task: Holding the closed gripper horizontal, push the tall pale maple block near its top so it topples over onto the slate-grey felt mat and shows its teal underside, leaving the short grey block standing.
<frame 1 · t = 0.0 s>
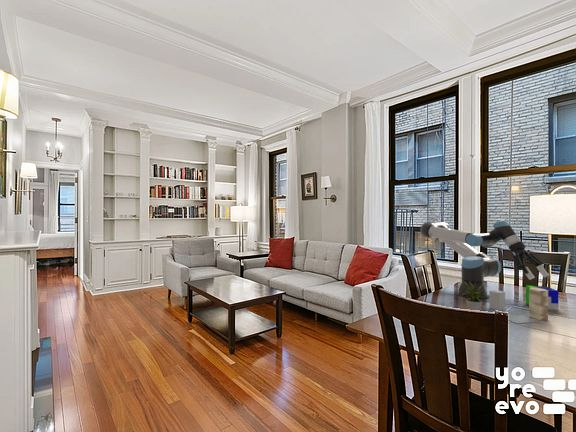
hand: (539, 277, 166), 15 cm above the table, tool tilted 35°, fingers open, 13 cm apart
maple block: (538, 318, 147), on the table
puzzle toy: (541, 306, 165), on the table
grey block: (497, 308, 162), on the table
felt mat: (519, 319, 145), on the table
house plant: (471, 312, 157), on the table
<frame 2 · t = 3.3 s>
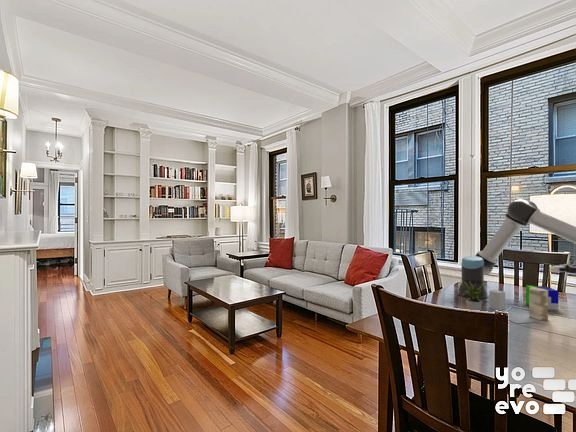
hand: (552, 269, 148), 23 cm above the table, tool horizontal, fingers closed
nothing on the table moved.
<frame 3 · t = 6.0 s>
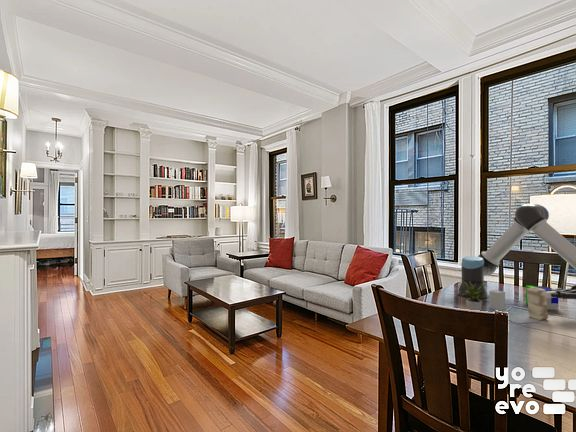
hand: (543, 294, 146), 11 cm above the table, tool horizontal, fingers closed
maple block: (538, 317, 147), on the table, tilted 6°, touching gripper
everything else where it was.
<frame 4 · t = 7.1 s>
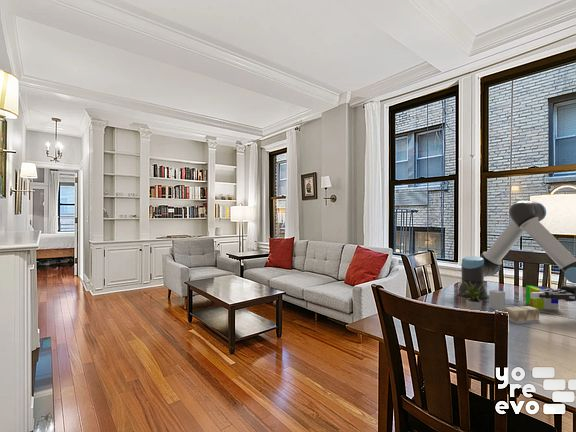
hand: (531, 295, 145), 11 cm above the table, tool horizontal, fingers closed
maple block: (534, 312, 146), point 3 cm above the table, tilted 90°, touching felt mat
everything else where it was.
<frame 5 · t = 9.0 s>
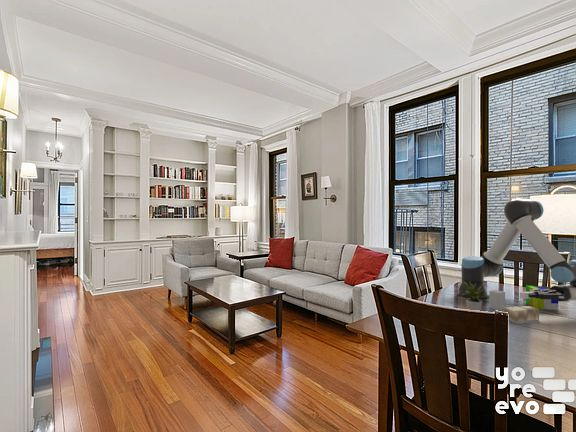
hand: (521, 295, 145), 11 cm above the table, tool horizontal, fingers closed
nothing on the table moved.
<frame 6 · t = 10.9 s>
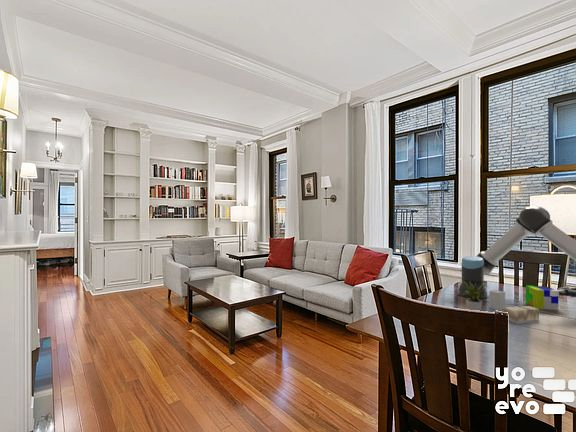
hand: (551, 293, 148), 12 cm above the table, tool horizontal, fingers closed
nothing on the table moved.
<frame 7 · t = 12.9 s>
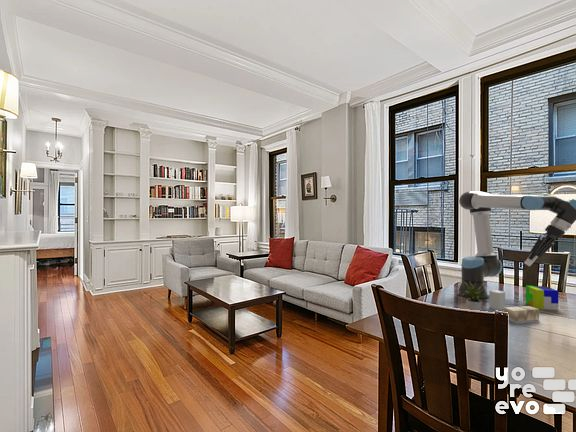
hand: (526, 264, 163), 23 cm above the table, tool tilted 30°, fingers closed
nothing on the table moved.
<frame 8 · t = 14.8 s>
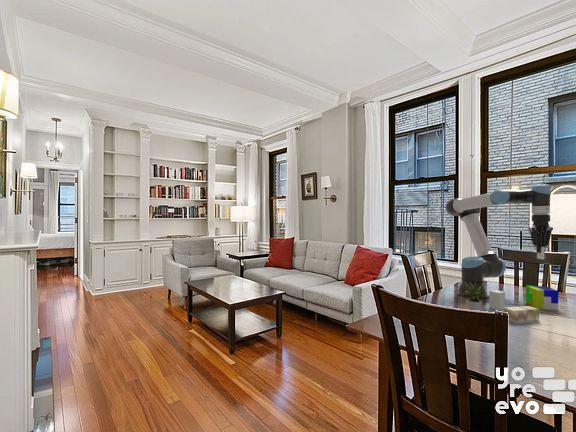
hand: (540, 258, 161), 26 cm above the table, tool pointing down, fingers closed
nothing on the table moved.
at the end: maple block tilted 90°; maple block inside the target area (4.7 cm from its centre), point 2.8 cm above the table; grey block tilted 0° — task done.
